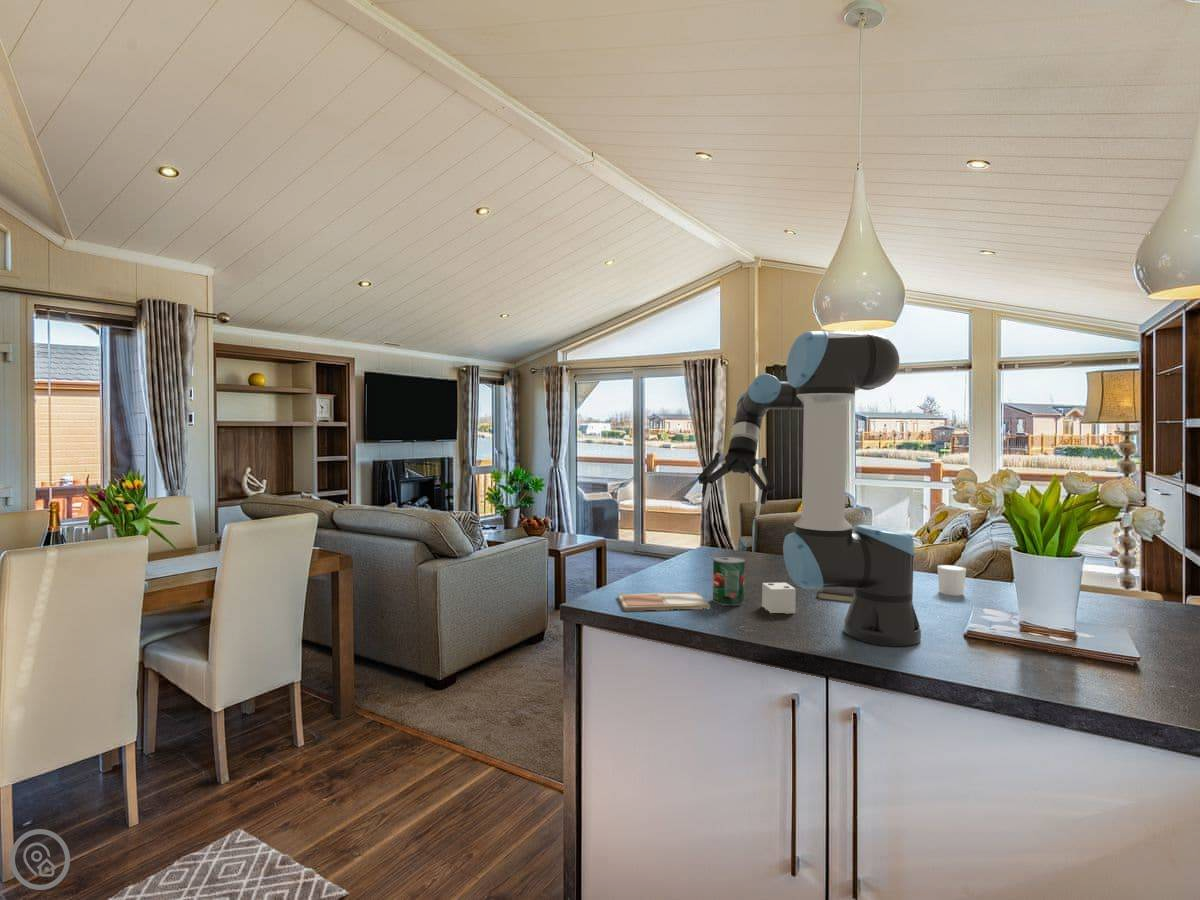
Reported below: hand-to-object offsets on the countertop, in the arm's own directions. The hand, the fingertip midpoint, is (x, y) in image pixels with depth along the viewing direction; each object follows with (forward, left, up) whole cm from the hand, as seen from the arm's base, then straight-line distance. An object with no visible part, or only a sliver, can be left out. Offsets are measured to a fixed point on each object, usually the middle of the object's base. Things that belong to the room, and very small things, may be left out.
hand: (730, 510), depth 167 cm
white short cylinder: (-2, -61, -23) cm, 65 cm away
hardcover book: (+2, -35, -23) cm, 42 cm away
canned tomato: (-5, +2, -23) cm, 23 cm away
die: (-13, -8, -23) cm, 27 cm away
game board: (-5, +19, -23) cm, 30 cm away
